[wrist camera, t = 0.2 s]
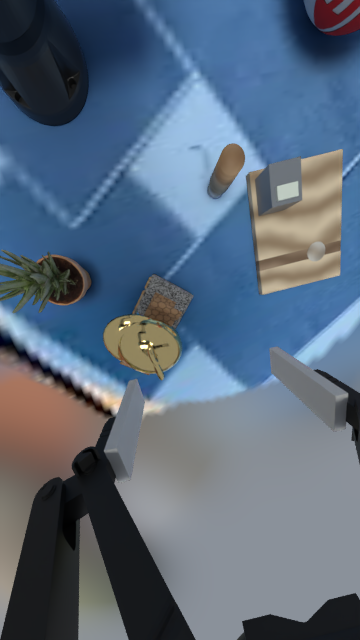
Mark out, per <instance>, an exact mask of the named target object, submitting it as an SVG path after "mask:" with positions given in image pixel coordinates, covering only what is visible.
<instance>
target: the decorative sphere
mask: <svg viewBox="0 0 360 640" xmlns="http://www.w3.org/2000/svg"><path fill="white" fill-rule="evenodd" d="M304 4H305V8H306V11H307V14H308V16H309V18H310V20H311V21H312V23H313V24H314V25H315V26H316V27H317V28H318V29H319V31H321V32H322V33H325V34H327V35H333V36H338V35H345V34H349V33H352V32H354V31H357V30H359V29H360V0H304Z"/></svg>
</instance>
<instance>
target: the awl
mask: <svg viewBox="0 0 360 640" xmlns="http://www.w3.org/2000/svg"><path fill="white" fill-rule="evenodd" d="M244 162H245V155H244V151H243V149H242V148H241V147H240V146H239V145H237V144H229V145H227V146H226V147H225V148H224V149H223V151H222V153H221V155H220V157H219V160H218V162H217V164H216V166H215V169H214V171H213V173H212V176H211V178H210V184H209V186H208V194H209V196H210V197H211V198H213V199H217V198H219V197H220V196H221V195H222V194H223V193H224V192H225V191H226V190H227V189H228V187H229V186H230V185H231V183H232V182H233V180H234V179H235V177H236V176H237V174H238V173H239V172H240V170H241V169H242V167H243V165H244Z"/></svg>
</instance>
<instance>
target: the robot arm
mask: <svg viewBox="0 0 360 640" xmlns="http://www.w3.org/2000/svg"><path fill="white" fill-rule="evenodd" d="M0 86H1V87H2V89H3V90H4V91H5V93H6V94H7V95H8V96H9V97H10V98H11V100H12V101H13V102H14V103H15V104H16V105H17V106H18V107H19V108H20V109H21V110H22V111H23V112H24V113H25V114H26V115H27V116H29V117H30V118H32V119H34V120H36V121H38V122H40V123H43V124H47V125H61V124H65V123H67V122H69V121H71V120H72V119H74V118H75V117H76V116H77V115H78V114H79V112H80V111H81V109H82V108H83V105H84V103H85V100H86V97H87V92H88V72H87V66H86V62H85V59H84V56H83V53H82V50H81V48H80V45H79V43H78V40H77V38H76V35H75V33H74V31H73V29H72V27H71V25H70V24H69V22H68V20H67V19H66V17H65V16H64V14H63V13H62V11H61V10H60V8H59V7H58V5H57V4H56V2H55V1H54V0H0ZM270 361H271V373H272V374H273V375H274V376H275V377H276V378H278V379H279V380H280V381H281V382H282V383H283V384H284V385H285V386H286V387H287V388H288V389H289V390H290V391H291V392H292V393H293V394H295V395H296V396H297V397H298V398H299V399H300V400H301V401H302V402H303V403H304V404H305V405H306V406H307V407H308V408H309V409H310V410H311V411H312V412H313V413H315V414H316V415H317V416H318V417H319V418H320V419H321V420H322V421H323V422H324V423H325V424H326V425H327V426H328V427H329V428H331V430H333V431H334V432H336V431H340V430H344V429H346V422H348V423H349V424H350V425H351V426H352V427H353V429H352V441H355V445H356V450H357V454H358V459H359V463H360V393H358V392H357V391H355V390H354V389H352V388H350V387H349V386H347V385H345V384H344V383H342V382H341V381H339V380H337V379H336V378H333V377H332V376H331V375H329V374H328V373H326V372H323V371H321V370H318V369H317V370H312V369H311V368H309V367H308V366H306V365H305V364H303V363H301V362H300V361H298V360H297V359H295V358H294V357H292V356H291V355H289V354H288V353H286V352H285V351H283V350H282V349H280V348H279V347H273V348H270ZM144 404H145V401H144V398H143V395H142V392H141V389H140V386H139V383H138V380H137V379H135V380H131V381H129V383H128V386H127V388H126V391H125V394H124V397H123V399H122V402H121V405H120V408H119V410H118V413H117V416H116V417H113V418H109V420H108V421H107V422H106V424H105V425H104V427H103V430H102V433H101V434H100V438H99V439H98V441H97V444H96V447H88V448H85V449H84V450H82V451H81V452H80V453H79V454H78V455H77V456H76V457H75V459H74V461H73V463H72V470H73V471H74V473H75V475H74V476H72V477H71V478H68V479H67V480H65V481H63V480H62V479H61V478H59V477H57V478H53V479H51V480H50V481H48V482H47V483H46V484H44V486H43V487H42V488H41V489H40V490H39V491H38V493H37V494H36V496H35V498H34V501H33V504H32V509H31V513H30V517H29V522H28V525H27V530H26V534H25V538H24V542H23V546H22V551H21V555H20V559H19V563H18V567H17V571H16V576H15V580H14V584H13V588H12V592H11V597H10V601H9V605H8V610H7V613H6V618H5V622H4V626H3V630H2V635H1V639H0V640H78V616H79V541H80V540H79V539H80V538H79V537H80V518H82V517H83V516H85V515H86V514H88V513H89V516H90V519H91V523H92V526H93V529H94V532H95V535H96V538H97V541H98V545H99V548H100V551H101V554H102V557H103V560H104V563H105V567H106V570H107V573H108V576H109V579H110V582H111V585H112V589H113V592H114V595H115V598H116V601H117V604H118V607H119V610H120V613H121V617H122V620H123V623H124V626H125V629H126V633H127V636H128V639H129V640H195V638H194V636H193V634H192V632H191V630H190V628H189V626H188V624H187V622H186V620H185V619H184V617H183V615H182V613H181V611H180V609H179V607H178V605H177V604H176V602H175V600H174V598H173V597H172V595H171V593H170V591H169V589H168V587H167V585H166V583H165V581H164V579H163V577H162V575H161V573H160V572H159V570H158V568H157V566H156V564H155V562H154V560H153V558H152V556H151V554H150V552H149V550H148V548H147V546H146V544H145V543H144V541H143V539H142V537H141V535H140V533H139V531H138V529H137V527H136V525H135V523H134V521H133V519H132V517H131V516H130V514H129V512H128V510H127V508H126V506H125V504H124V502H123V500H122V498H121V496H120V494H119V492H118V490H117V488H116V486H115V484H114V482H115V478H116V479H117V481H118V483H121V482H125V481H130V480H131V475H132V470H133V464H134V459H135V453H136V448H137V442H138V437H139V431H140V426H141V420H142V415H143V409H144ZM242 623H243V628H244V633H243V634H242V635H241V636H240V637H239V638H238V639H237V640H360V600H359V598H358V596H357V594H356V593H355V594H350V595H346V596H342V597H338V598H334V599H330V600H328V601H327V602H326V603H325V604H324V605H323V606H322V607H321V608H320V609H319V610H318V611H317V612H316V613H315V614H314V615H313V616H312V617H311V618H310V619H309V620H308V621H307V622H304V623H303V622H298V621H295V620H291V619H287V618H283V617H279V616H274V615H271V614H270V615H265V616H262V617H257V618H253V619H250V620H245V621H242Z"/></svg>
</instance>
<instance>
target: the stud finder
mask: <svg viewBox="0 0 360 640" xmlns="http://www.w3.org/2000/svg"><path fill="white" fill-rule="evenodd" d="M255 186H256V196H257V206H258V216H262V215H266V214H270V213H274V212H278V211H282V210H285V209H287V208H289V207H291V206H293V205H294V204H296V203H298V202H300V201H302V175H301V157H297V158H293V159H289V160H285V161H281V162H277V163H273V164H269V165H268V166H267V167H266V168H265V169H264V170H263V171H262V172H261V174H260V175H259V176H258V177H257V178H256V179H255Z"/></svg>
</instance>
